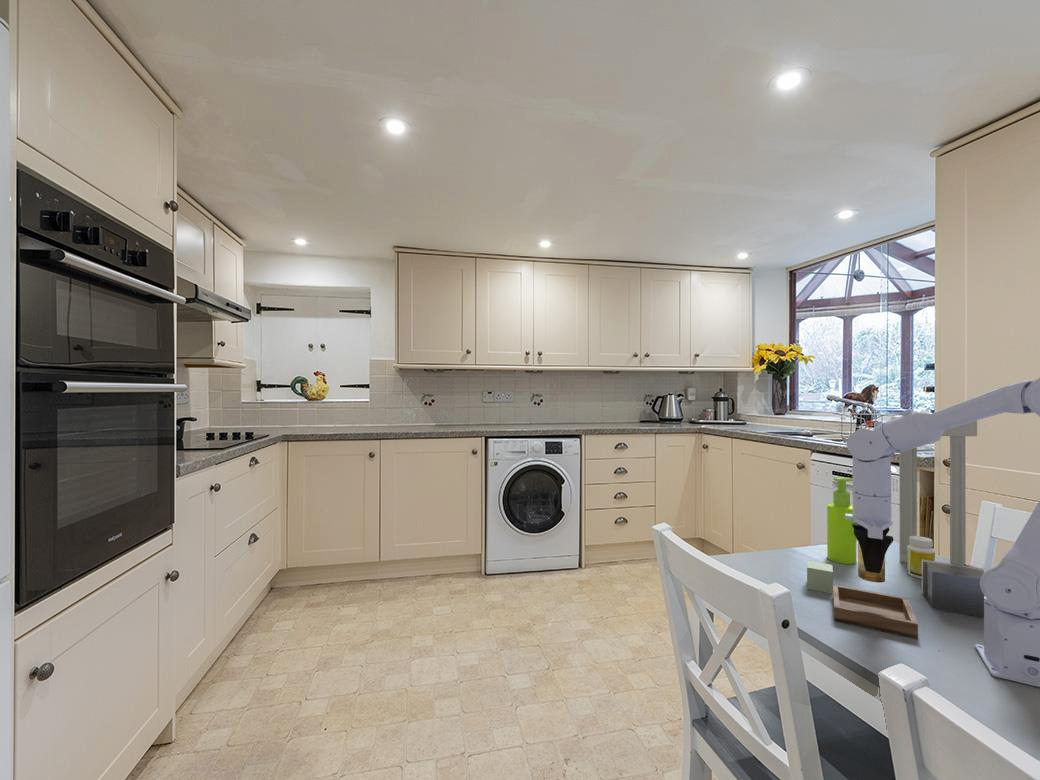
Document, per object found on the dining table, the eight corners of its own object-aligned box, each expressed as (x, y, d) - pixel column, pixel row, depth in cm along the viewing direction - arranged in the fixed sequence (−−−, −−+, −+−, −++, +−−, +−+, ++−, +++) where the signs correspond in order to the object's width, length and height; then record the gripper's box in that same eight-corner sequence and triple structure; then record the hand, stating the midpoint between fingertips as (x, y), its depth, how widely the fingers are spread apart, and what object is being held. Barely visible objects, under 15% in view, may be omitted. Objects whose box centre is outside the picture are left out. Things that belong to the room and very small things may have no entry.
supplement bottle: (940, 581, 102) (940, 542, 102) (915, 579, 103) (915, 541, 103) (926, 572, 107) (926, 535, 107) (902, 571, 108) (902, 534, 108)
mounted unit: (994, 620, 85) (994, 581, 85) (928, 607, 90) (928, 570, 90) (981, 604, 91) (981, 567, 91) (921, 593, 96) (921, 558, 96)
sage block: (832, 593, 96) (832, 571, 96) (807, 588, 98) (807, 567, 98) (832, 586, 100) (832, 564, 100) (807, 581, 102) (807, 560, 102)
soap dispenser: (866, 564, 111) (866, 480, 111) (834, 563, 112) (834, 479, 112) (853, 556, 117) (852, 476, 117) (822, 554, 118) (822, 475, 118)
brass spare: (886, 584, 83) (886, 550, 83) (858, 579, 86) (858, 546, 86) (883, 576, 87) (883, 544, 87) (857, 572, 89) (857, 540, 89)
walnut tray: (918, 639, 78) (918, 624, 78) (834, 620, 84) (834, 606, 84) (907, 611, 88) (907, 598, 88) (832, 596, 94) (832, 584, 94)
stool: (887, 561, 114) (887, 416, 113) (896, 546, 124) (896, 414, 124) (976, 579, 103) (976, 419, 103) (977, 561, 114) (977, 416, 114)
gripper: (843, 484, 94) (843, 552, 94) (846, 498, 82) (846, 576, 82) (887, 488, 91) (887, 558, 91) (898, 503, 78) (898, 585, 78)
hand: (871, 567), depth 86 cm, fingers closed on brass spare, 4 cm apart
